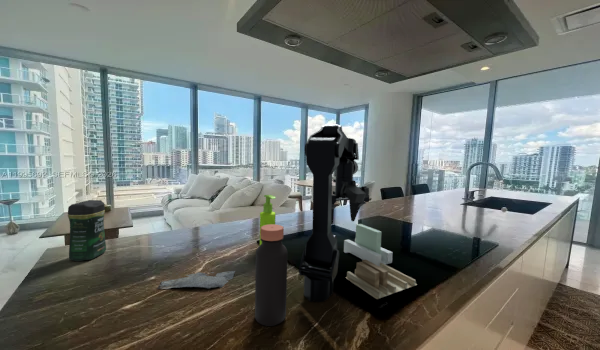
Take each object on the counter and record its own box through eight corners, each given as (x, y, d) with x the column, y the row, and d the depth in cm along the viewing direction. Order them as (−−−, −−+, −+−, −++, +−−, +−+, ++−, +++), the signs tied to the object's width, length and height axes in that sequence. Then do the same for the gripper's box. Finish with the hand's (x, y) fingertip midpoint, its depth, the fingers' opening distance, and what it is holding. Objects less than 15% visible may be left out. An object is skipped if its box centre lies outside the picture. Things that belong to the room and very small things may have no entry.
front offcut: (374, 292, 64) (375, 273, 63) (355, 279, 70) (356, 262, 69) (378, 290, 64) (379, 272, 64) (359, 278, 70) (360, 261, 70)
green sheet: (375, 261, 82) (377, 232, 81) (355, 251, 91) (356, 224, 90) (379, 260, 83) (381, 231, 82) (359, 250, 92) (360, 223, 91)
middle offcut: (382, 290, 64) (383, 272, 64) (361, 277, 71) (362, 260, 71) (386, 289, 65) (387, 271, 65) (365, 276, 72) (365, 259, 72)
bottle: (286, 307, 58) (288, 223, 56) (285, 327, 51) (287, 232, 50) (257, 306, 58) (258, 222, 56) (252, 327, 51) (253, 232, 49)
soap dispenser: (266, 251, 91) (267, 197, 90) (256, 245, 96) (257, 194, 95) (279, 247, 95) (280, 195, 93) (269, 242, 100) (270, 193, 99)
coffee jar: (91, 262, 78) (88, 204, 77) (63, 262, 78) (60, 203, 76) (111, 250, 88) (109, 198, 86) (87, 250, 87) (84, 198, 86)
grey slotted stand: (376, 269, 78) (376, 256, 78) (343, 251, 92) (344, 240, 92) (391, 265, 82) (392, 252, 82) (358, 248, 96) (358, 237, 95)
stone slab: (235, 269, 74) (227, 284, 64) (236, 275, 74) (227, 291, 64) (174, 270, 74) (156, 285, 64) (174, 276, 74) (156, 293, 64)
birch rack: (376, 303, 61) (377, 293, 60) (344, 280, 71) (345, 272, 71) (417, 287, 68) (417, 279, 68) (383, 269, 79) (383, 262, 78)
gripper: (336, 180, 72) (334, 233, 73) (382, 178, 81) (380, 225, 82) (315, 176, 81) (314, 223, 82) (358, 175, 90) (356, 217, 92)
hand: (342, 222), depth 84 cm, fingers open, 9 cm apart
